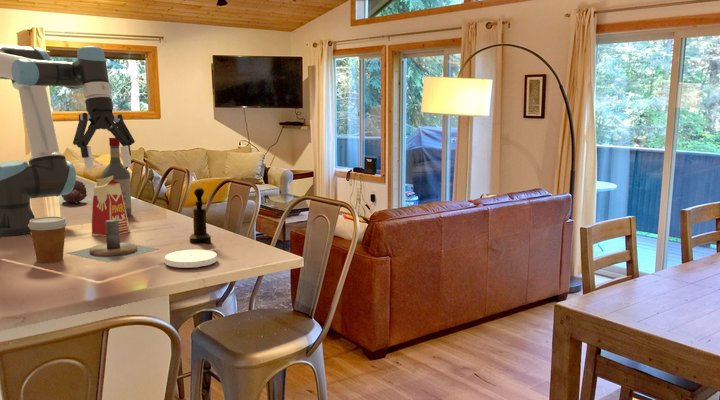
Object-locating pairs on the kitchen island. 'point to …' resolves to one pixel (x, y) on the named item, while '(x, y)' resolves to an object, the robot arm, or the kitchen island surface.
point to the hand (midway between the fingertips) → (109, 167)
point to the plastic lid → (190, 258)
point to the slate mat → (112, 258)
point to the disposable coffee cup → (48, 238)
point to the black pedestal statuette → (199, 220)
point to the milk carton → (108, 206)
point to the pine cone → (76, 193)
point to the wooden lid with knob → (112, 243)
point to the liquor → (119, 173)
